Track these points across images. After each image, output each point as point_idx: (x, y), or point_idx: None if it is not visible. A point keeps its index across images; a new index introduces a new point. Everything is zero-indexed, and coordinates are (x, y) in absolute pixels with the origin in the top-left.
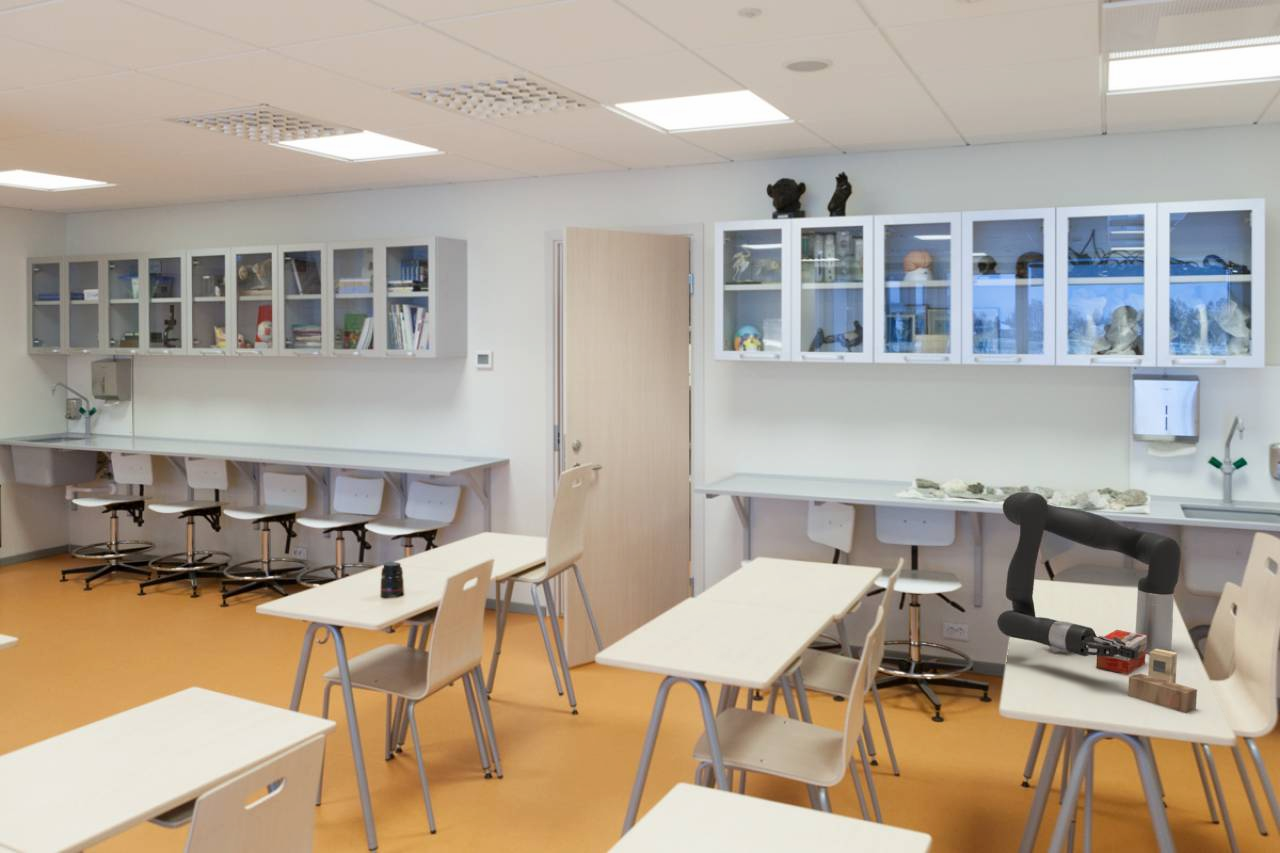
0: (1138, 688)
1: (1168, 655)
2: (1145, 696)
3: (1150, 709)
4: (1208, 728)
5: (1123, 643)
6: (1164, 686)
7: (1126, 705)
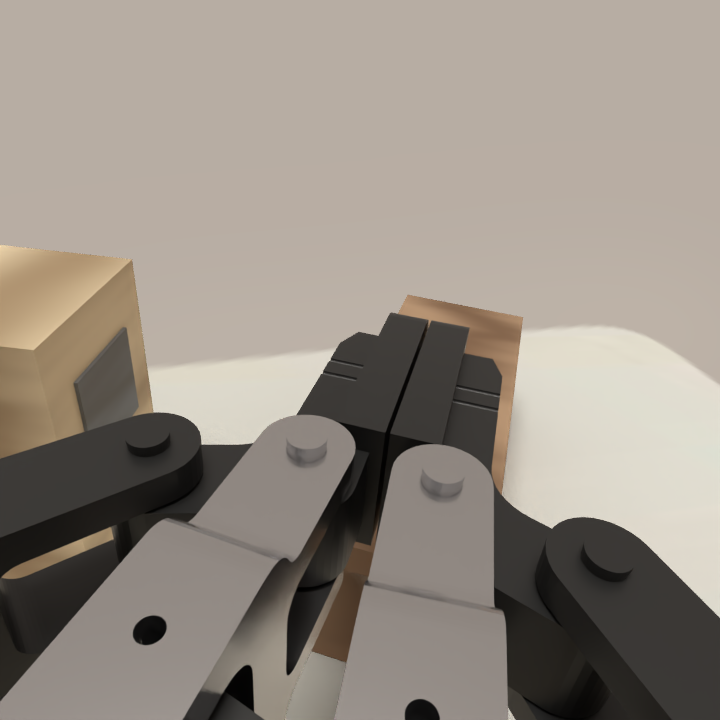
0: None
1: (85, 267)
2: None
3: (615, 523)
4: (611, 348)
5: (167, 434)
6: (502, 382)
7: None
